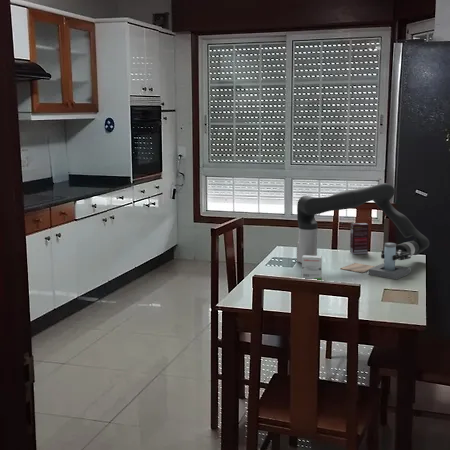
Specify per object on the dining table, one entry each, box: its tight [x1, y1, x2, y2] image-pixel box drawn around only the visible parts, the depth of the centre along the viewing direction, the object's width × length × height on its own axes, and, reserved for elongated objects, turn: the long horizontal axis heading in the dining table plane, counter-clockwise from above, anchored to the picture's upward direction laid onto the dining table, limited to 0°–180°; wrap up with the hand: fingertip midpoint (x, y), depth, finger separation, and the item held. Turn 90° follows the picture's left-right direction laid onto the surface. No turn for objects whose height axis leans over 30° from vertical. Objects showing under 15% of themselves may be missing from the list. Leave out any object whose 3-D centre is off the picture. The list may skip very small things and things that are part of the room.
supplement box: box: [349, 222, 370, 255], centre depth 332 cm, size 9×5×16 cm, turn 98°
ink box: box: [301, 255, 323, 281], centre depth 277 cm, size 9×5×12 cm, turn 78°
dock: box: [368, 263, 411, 280], centre depth 291 cm, size 14×14×2 cm
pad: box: [339, 262, 375, 274], centre depth 301 cm, size 12×14×1 cm
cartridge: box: [383, 242, 397, 271], centre depth 290 cm, size 5×5×14 cm
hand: (387, 257), depth 288 cm, fingers closed on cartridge, 5 cm apart
